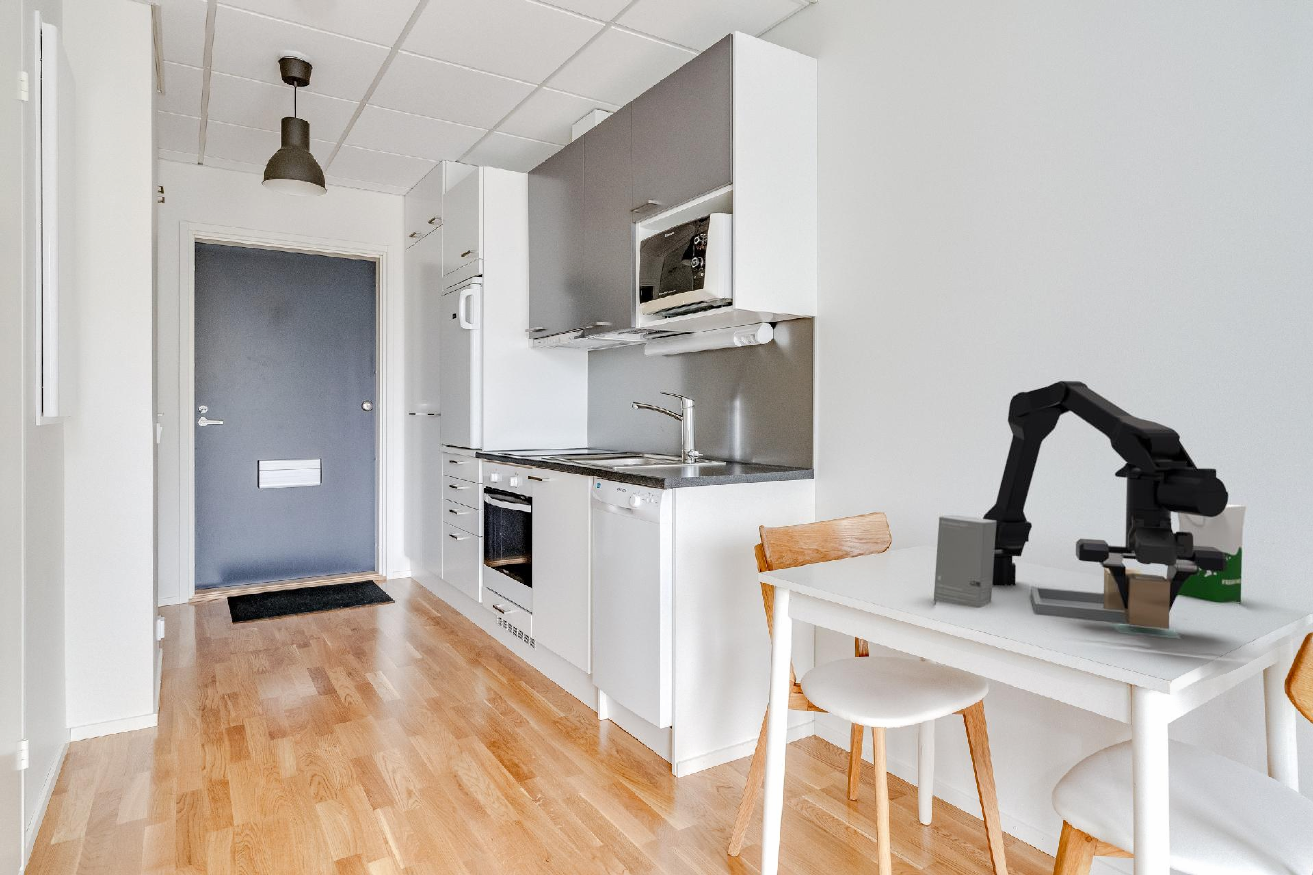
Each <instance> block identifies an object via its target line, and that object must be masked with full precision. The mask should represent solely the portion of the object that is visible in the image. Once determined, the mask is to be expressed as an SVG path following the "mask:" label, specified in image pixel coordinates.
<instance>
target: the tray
mask: <svg viewBox="0 0 1313 875" xmlns="http://www.w3.org/2000/svg"><path fill="white" fill-rule="evenodd" d="M1030 598H1031V600H1030V601H1031V603H1032V607H1033V608H1032V609H1033V612H1034V614H1035V615H1040V616H1049V617H1051V616H1052V617H1061V618H1070V619H1071V618H1072V619H1079V620H1080V619H1082V620H1091V621H1101V622H1112V623H1120V624H1129V623H1128V622H1127V621H1126V619H1125V618H1124V611H1121V610H1111V609H1104V608H1103V604H1104V592H1094V591H1086V590H1085V591H1083V590H1071V589H1063V588H1062V589H1061V588H1052V587H1051V588H1049V587H1037V586H1031V587H1030Z"/></svg>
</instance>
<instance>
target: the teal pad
mask: <svg viewBox="0 0 1313 875" xmlns="http://www.w3.org/2000/svg"><path fill="white" fill-rule="evenodd" d="M1112 625H1113V627H1114V628H1115V630H1116V631H1117V633H1121V634H1122V633H1123V634H1124V633H1125V634H1131V635H1133V634H1134V635H1143V636H1150V637H1151V636H1152V637H1162V638H1170V639H1179V640H1181V639H1182V638H1181V636H1180V635H1179V634H1178V633H1177V632H1176V631H1175V630H1174V629H1170V628H1169V629H1163V628H1154V627H1144V626H1134V625H1129V624H1121V623H1120V624H1118V623H1113V624H1112Z"/></svg>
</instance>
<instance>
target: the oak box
mask: <svg viewBox="0 0 1313 875" xmlns="http://www.w3.org/2000/svg"><path fill="white" fill-rule="evenodd" d="M1126 573H1131V574H1132V573H1136V574H1143V573H1142V572H1141V571H1140V569H1128V568H1126ZM1103 593H1104V604H1103V608H1104V609H1111V610H1121V611H1124V606H1123V604H1122V601H1121V598H1120V595H1119V592H1118V589H1117V586H1116V584H1115V581H1114V579H1113V576H1112V574H1111V572H1110V570H1109V568H1104V567H1103Z"/></svg>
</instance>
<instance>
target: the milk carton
mask: <svg viewBox="0 0 1313 875" xmlns="http://www.w3.org/2000/svg"><path fill="white" fill-rule="evenodd" d="M1246 508H1247V506H1246V505H1243V504H1241V505H1240V504H1232V503H1228V502H1227V505H1226V507H1225V509H1224V511H1223V512H1222V513H1221V514H1219V515H1218V516H1215V517H1205V516H1198V515H1190V514H1183V513H1176V514H1177V518H1178V523H1179V524H1178V526H1179V527H1178V532H1191V533H1192V535H1193V546H1206V547H1214V548H1216V549H1218V550H1220V551H1222V552H1223V553H1224V554H1225V555H1226V558H1227V571H1211V570H1201V569H1200V568H1199V567H1198V566H1197V570H1198V571H1199V575H1191V576H1190V577H1189V578H1188V579H1187V580H1186V581H1185V582H1184V584H1183V585H1182V587H1181V588H1180V590H1179V592H1178V594H1177V596H1182V597H1187V598H1194V599H1197V600H1202V601H1208V602H1212V603H1218V604H1219V603H1227V602H1232V601H1235V603H1237V604H1239V603H1238V602H1241V603H1242V570H1243V569H1242V567H1243V565H1242V564H1243V559H1242V558H1243V533H1244V532H1243V527H1244V522H1245V514H1246Z"/></svg>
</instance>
